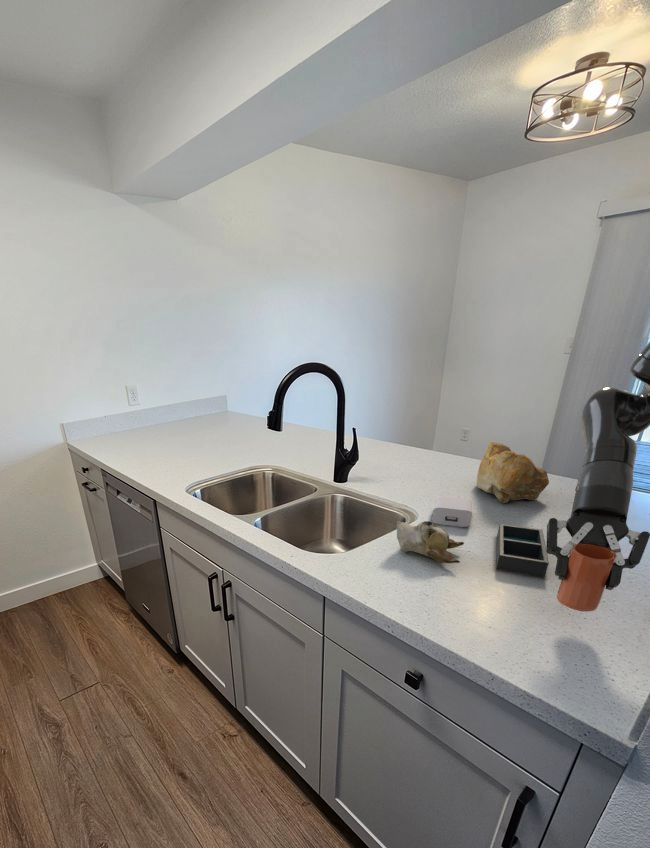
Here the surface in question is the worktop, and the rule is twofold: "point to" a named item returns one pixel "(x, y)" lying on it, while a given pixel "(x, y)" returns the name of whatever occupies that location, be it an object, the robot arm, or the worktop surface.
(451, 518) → the charger
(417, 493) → the worktop surface
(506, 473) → the rough brown rock
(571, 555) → the cup
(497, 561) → the holder
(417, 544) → the ceramic sculpture
